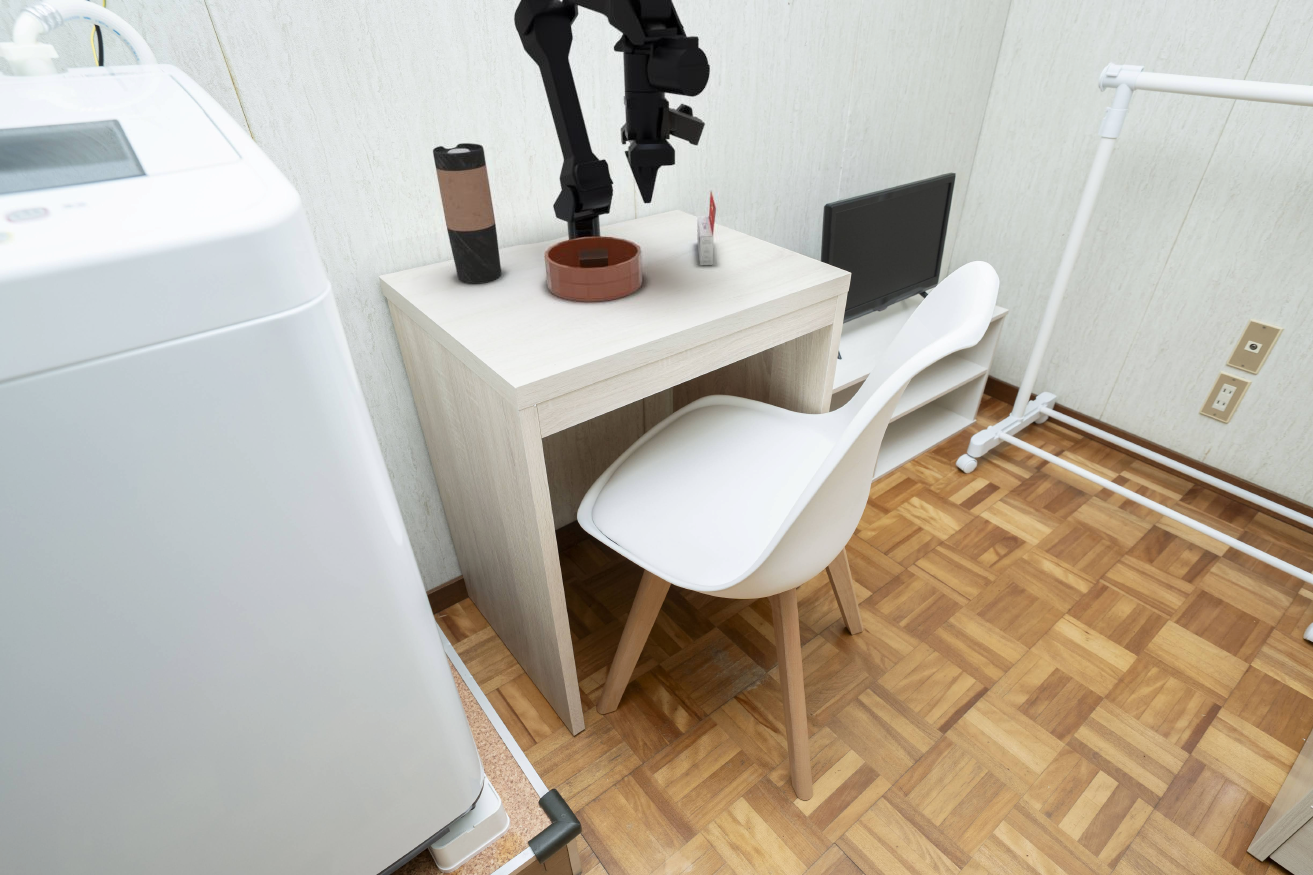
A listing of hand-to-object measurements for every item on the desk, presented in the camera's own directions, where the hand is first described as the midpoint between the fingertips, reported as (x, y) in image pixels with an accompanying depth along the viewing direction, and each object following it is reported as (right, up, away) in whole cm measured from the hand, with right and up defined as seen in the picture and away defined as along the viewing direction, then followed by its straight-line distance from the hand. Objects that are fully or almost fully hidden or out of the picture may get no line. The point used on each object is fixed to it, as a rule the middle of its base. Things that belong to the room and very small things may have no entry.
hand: (647, 202), depth 103 cm
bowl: (-9, -11, +5) cm, 15 cm away
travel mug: (-28, -9, +9) cm, 31 cm away
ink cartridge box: (+10, -4, +15) cm, 19 cm away
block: (-9, -11, +5) cm, 15 cm away
